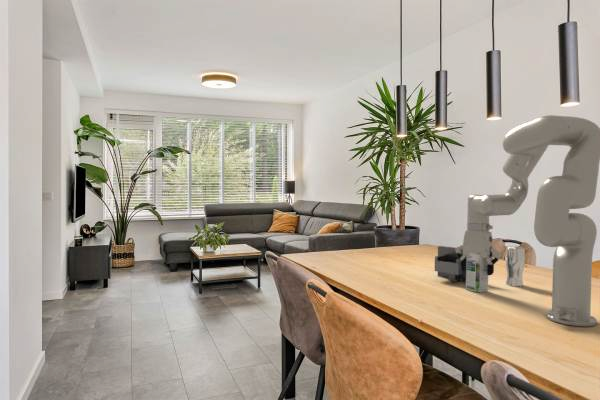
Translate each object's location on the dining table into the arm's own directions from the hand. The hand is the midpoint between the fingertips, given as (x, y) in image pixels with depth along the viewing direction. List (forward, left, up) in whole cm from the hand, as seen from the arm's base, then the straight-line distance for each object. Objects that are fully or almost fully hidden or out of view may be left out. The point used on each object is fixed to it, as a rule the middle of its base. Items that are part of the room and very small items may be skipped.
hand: (476, 272), depth 156 cm
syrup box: (0, 0, -7) cm, 7 cm away
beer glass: (+20, -6, -7) cm, 22 cm away
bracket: (+8, +14, -7) cm, 17 cm away
